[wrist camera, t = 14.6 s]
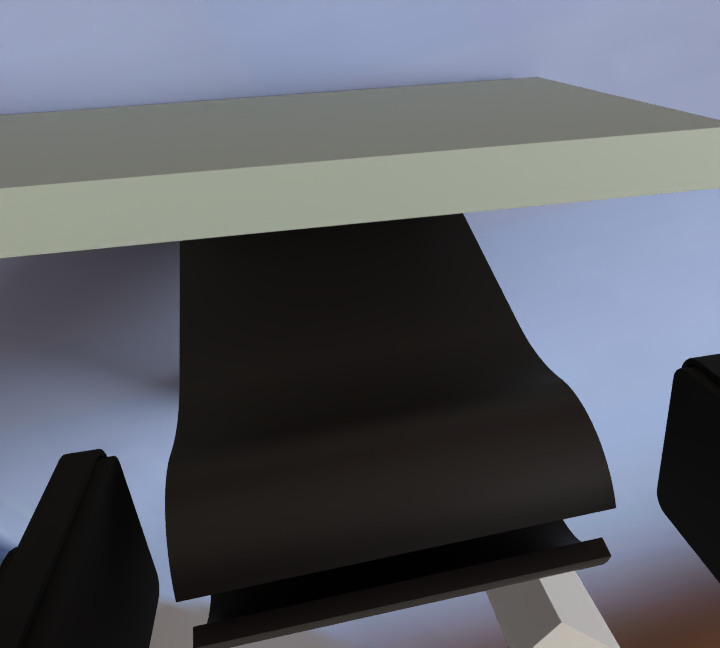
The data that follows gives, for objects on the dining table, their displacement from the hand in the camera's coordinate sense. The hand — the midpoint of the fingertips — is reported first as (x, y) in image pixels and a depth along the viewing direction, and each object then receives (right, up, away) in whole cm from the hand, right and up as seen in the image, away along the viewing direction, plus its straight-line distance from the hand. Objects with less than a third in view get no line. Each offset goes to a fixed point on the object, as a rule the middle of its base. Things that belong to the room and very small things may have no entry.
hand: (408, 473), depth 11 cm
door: (-4, +8, +6) cm, 11 cm away
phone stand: (-2, +4, +9) cm, 10 cm away
